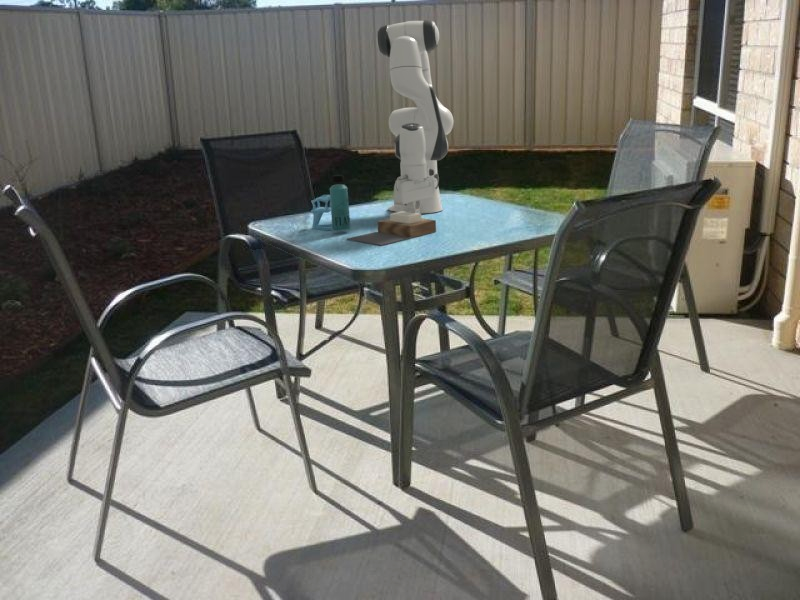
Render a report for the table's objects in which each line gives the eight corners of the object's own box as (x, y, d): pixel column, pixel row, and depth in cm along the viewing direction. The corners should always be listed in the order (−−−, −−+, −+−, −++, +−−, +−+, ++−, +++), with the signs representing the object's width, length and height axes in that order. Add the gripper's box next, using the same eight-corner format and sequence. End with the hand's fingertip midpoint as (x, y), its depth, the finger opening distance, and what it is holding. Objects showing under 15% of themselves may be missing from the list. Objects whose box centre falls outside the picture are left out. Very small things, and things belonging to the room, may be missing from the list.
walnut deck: (378, 232, 282) (377, 221, 281) (403, 226, 290) (402, 215, 289) (410, 238, 271) (410, 226, 270) (436, 231, 279) (435, 220, 278)
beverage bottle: (333, 235, 282) (329, 176, 276) (331, 231, 288) (326, 174, 282) (352, 233, 283) (348, 175, 277) (349, 230, 289) (345, 173, 283)
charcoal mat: (347, 239, 274) (346, 238, 274) (375, 232, 282) (375, 231, 282) (381, 245, 262) (381, 244, 262) (410, 238, 270) (410, 237, 270)
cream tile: (390, 221, 280) (389, 214, 280) (402, 218, 284) (402, 211, 284) (409, 223, 274) (408, 216, 274) (421, 220, 278) (421, 213, 278)
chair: (317, 226, 300) (314, 193, 296) (338, 226, 298) (336, 192, 294) (309, 230, 293) (306, 196, 289) (331, 230, 290) (328, 196, 287)
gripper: (403, 177, 268) (405, 219, 272) (437, 169, 284) (439, 209, 288) (387, 176, 272) (390, 218, 275) (422, 169, 288) (424, 208, 291)
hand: (415, 213), depth 282 cm, fingers closed
